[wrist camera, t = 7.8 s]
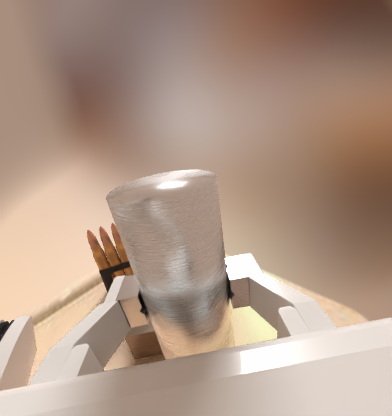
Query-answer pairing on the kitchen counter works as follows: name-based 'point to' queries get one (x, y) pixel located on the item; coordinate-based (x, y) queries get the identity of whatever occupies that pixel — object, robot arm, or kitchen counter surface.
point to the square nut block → (143, 341)
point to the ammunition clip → (109, 256)
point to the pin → (177, 258)
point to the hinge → (16, 352)
